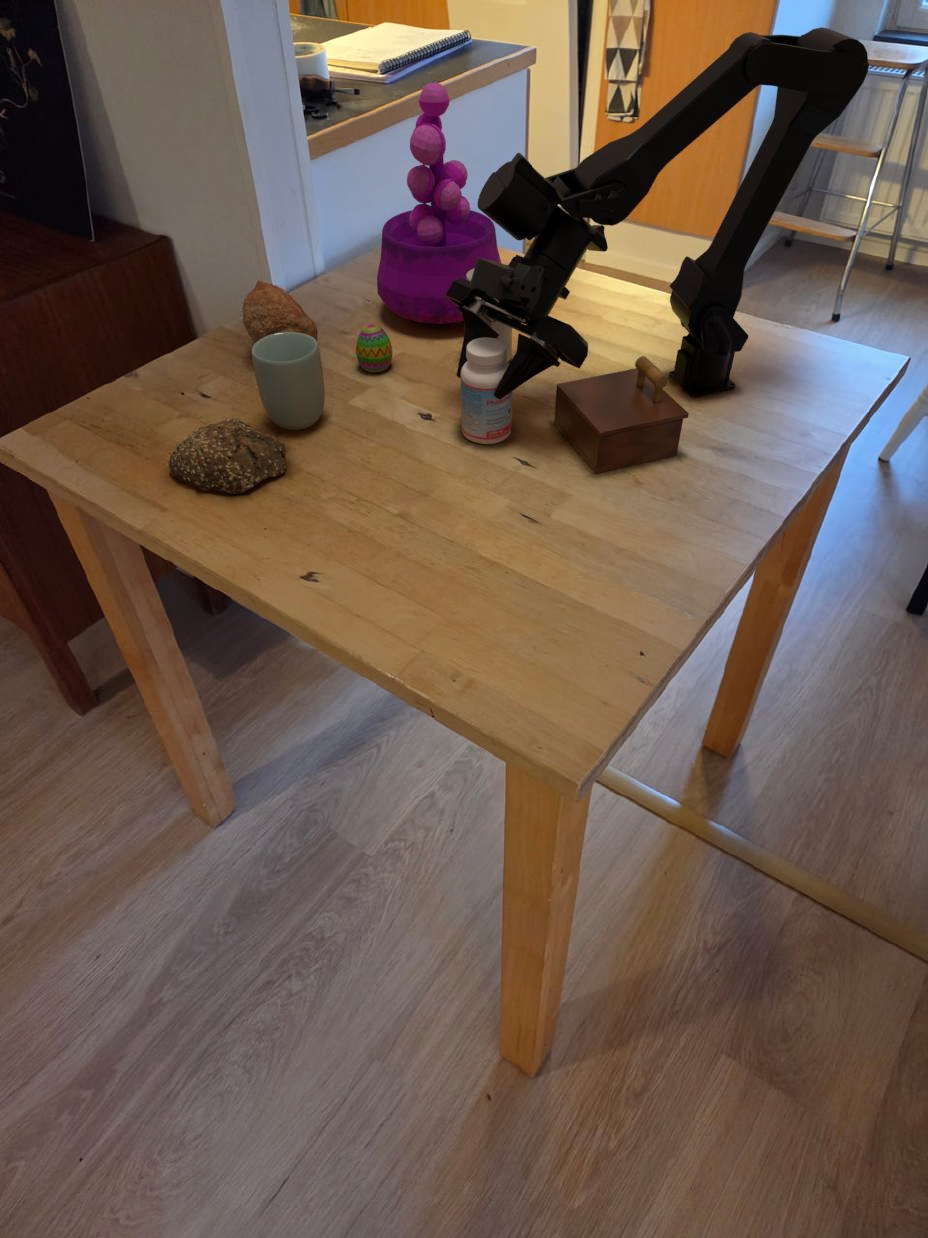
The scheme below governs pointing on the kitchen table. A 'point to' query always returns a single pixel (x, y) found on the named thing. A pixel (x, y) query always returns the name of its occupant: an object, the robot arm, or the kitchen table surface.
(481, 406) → the pill bottle
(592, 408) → the lid
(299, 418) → the cup
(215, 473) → the bread roll
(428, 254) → the decorative plant
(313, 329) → the crusty roll
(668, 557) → the kitchen table surface
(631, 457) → the chest
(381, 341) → the egg
